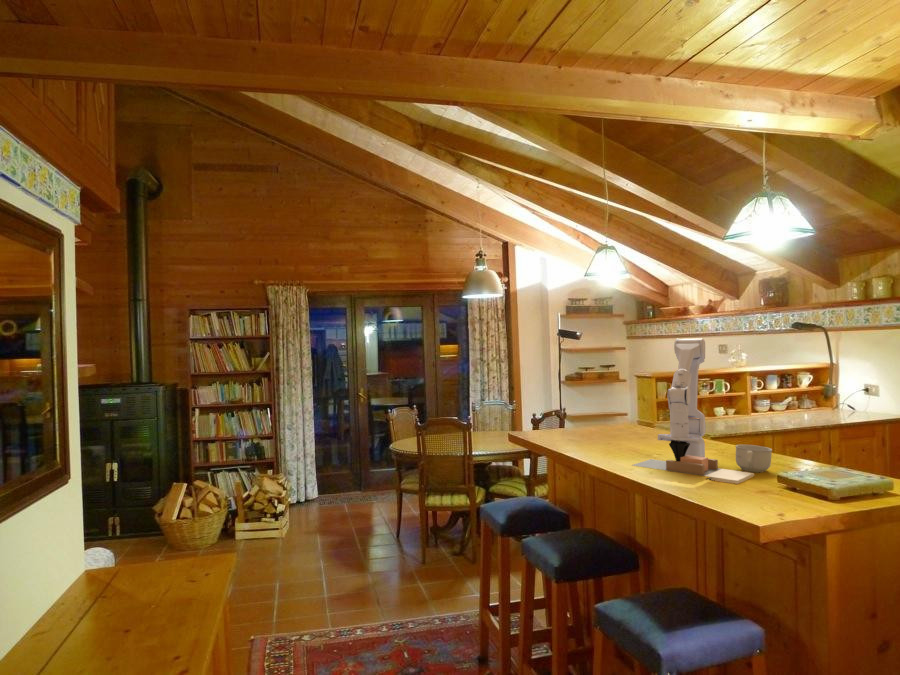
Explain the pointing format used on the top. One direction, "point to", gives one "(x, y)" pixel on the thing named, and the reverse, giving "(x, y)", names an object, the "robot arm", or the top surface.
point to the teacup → (753, 458)
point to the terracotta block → (696, 460)
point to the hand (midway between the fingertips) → (679, 463)
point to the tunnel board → (698, 470)
